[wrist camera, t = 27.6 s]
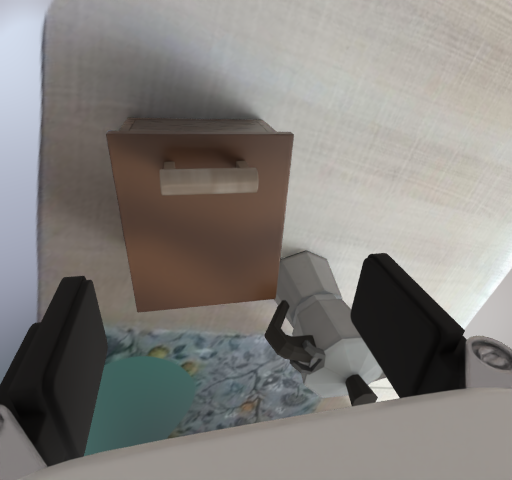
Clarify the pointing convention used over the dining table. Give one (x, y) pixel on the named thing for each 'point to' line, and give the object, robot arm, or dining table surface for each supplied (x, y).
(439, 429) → the robot arm
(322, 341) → the coffee maker
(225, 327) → the dining table surface
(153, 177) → the lid
